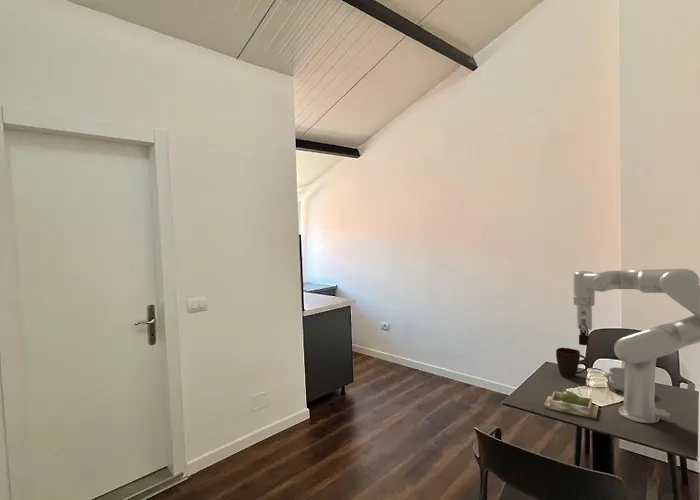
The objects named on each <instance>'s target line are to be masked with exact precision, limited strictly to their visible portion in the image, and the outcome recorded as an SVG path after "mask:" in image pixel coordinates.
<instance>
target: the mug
mask: <svg viewBox="0 0 700 500" xmlns="http://www.w3.org/2000/svg"><path fill="white" fill-rule="evenodd" d="M555 357H556V363H557V368H558V371H559V375H560V376H561V377H563V378H569V379H573V378H575V377H576V375H578V374H581V373H584V372H585V371H587V370H588V368H589V367H590V361H589V359H588V358H587V356H584V355H583V354H581V351H580V350H578V349H574V348H569V347H559V348H557V349H555ZM580 358H583V360H585V361H586V364H587V365H586V368H584V369H583V370H580V371H579V372H578V368H579V364H580Z"/></svg>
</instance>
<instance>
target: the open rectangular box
mask: <svg viewBox="0 0 700 500" xmlns="http://www.w3.org/2000/svg"><path fill="white" fill-rule="evenodd" d="M562 393H563V392H560V391H553V393H552V394H551V396H550V395H548V396H547V398H546V401H544V403H543V408H545V409H550V410H554V411H559V412H563V413H568V414H573V415H577V416H581V417H586V418H592V419H597V417H598V411H599V406H598V405H595V404H593V398H591V397H585V396H581V395H578V396H579V397H580V398H583V399H585V400H586V402H588V403H589V405H588V407H584V406H579V405H574V404H570V403H565V402H562V400H561V394H562Z"/></svg>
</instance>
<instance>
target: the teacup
mask: <svg viewBox="0 0 700 500" xmlns="http://www.w3.org/2000/svg"><path fill="white" fill-rule="evenodd" d="M604 375H605V377H606V378H607V380H608V382H607V383H608V384H609V385H610V386H611V387H613V388H614V389H615V390H616V391H619V392H623V393H624V367H617V366H616V367H611V368H609V371H608V372H606V373H605V374H604Z"/></svg>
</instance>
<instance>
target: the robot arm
mask: <svg viewBox="0 0 700 500" xmlns="http://www.w3.org/2000/svg"><path fill="white" fill-rule="evenodd" d="M612 290H635V291H637V290H638V291H640V293H641V292H642V293H645V294H657V293H658V294H666V295H667V296H669V297H670V298H671V299H672V300H673V301H674V302H676V303H678V304H679V305H680V306H682V307H683V308H685V309H686V310H687V311H689V312H690V313H691V314H693V315H691V316H688V317H685V318H682V319H680V320H676V321H673V322H669V323H663V324H659V325H656V326H654V327H651V328H648V329H645V330H642V331H639V332H633V333H630V334H628V335H625V336H623V337H620V338H619V339H617V341H616V342H615V343H614V346H613V351H614V355H615V356H616V357H617V359H619V360H620V361H622V362H623V363H624V367H623V368H624V392H623V405H622V406H619V407H618V413H619V415H621V416H622V417H624V418H625V419H628V420H630V421H634V422H637V423H643V424H654V423H658V422H659V421H660V417H662V418H666V419H671V418H670V417H671V413H670V412H667V411H666V410H665V409H659V408H657V407H656V404H655V391H656V388H655V387H656V386H655V385H656V365H657V359H658V358H661V357H662V358H663V357H665V356H668V355H670V354H673V353H675V352H677V351H679V350H681V349H682V348H685V347H688V346H691V345H694V344H697V343H699V344H700V277H699V275H698V274H697V273H696V272H695V271H693V270H691V269H688V268H664V269H663V268H661V269H660V268H659V269H656V268H655V269H638V270H637V269H636V270H635V269H631V270H630V269H629V270H626V269H625V270H609V271H608V270H607V271H602V272H601V271H600V272H593V271H589V270H578V271H575V272H574V273H573V305H575V306H576V319H577V322H576V323H577V329H579V334H578V345H580V346H589V336H590V335H589V333H590V331H591V330H592V329H593V307H594V306H595V303H596V302H595V298H596V297H595V295H596V292H598V293H599V292H600V293H601V292H608V291H612Z"/></svg>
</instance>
